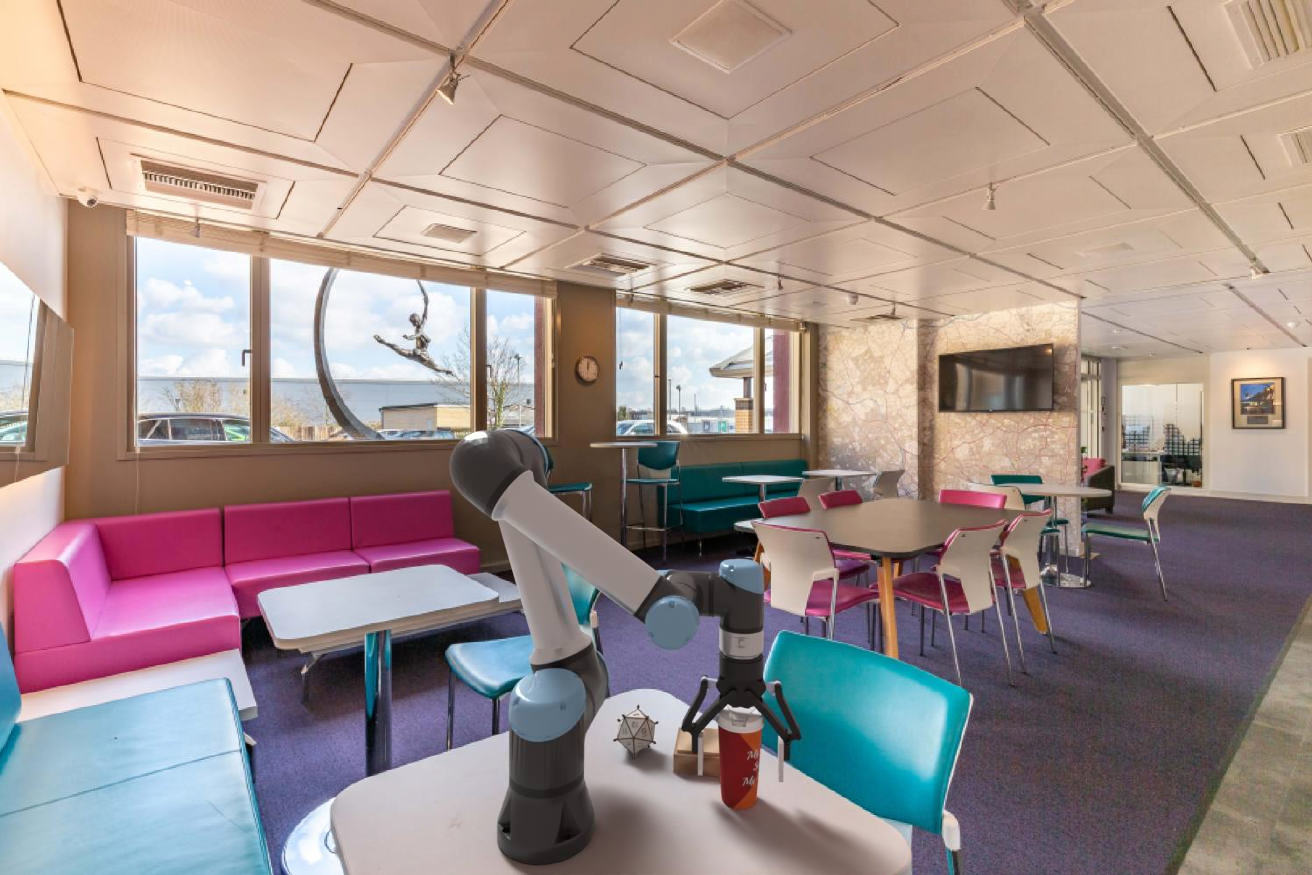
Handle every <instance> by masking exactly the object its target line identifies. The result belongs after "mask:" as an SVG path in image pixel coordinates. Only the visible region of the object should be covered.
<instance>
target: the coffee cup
mask: <svg viewBox="0 0 1312 875" xmlns="http://www.w3.org/2000/svg"><path fill="white" fill-rule="evenodd" d="M715 721H716V724H717V729H718V736H719V761H720V777H719V779H720V794H721V797H720V798H721V801H722V803H724V805H725V806H727V807H728V808H730V809H733V810H738V811H744V810H750V809H752V808H754V806H755V805H756V803H757V797H758V786H759V776H760V774H759V772H760V760H761V751H762V750H761V747H762V734H763V728H764V726H765V720H764V717H763V715H762V714H761V713H759V712H758V710H757V709H756V708H755V707H754V706H753V707H750V709H746V708H743V707H738V708H732V706H730V705H727V706H726V707H725V708H724V709H723V710H721V711H720V712H719V713H718V714H717V715H716V716H715Z"/></svg>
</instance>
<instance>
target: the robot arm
mask: <svg viewBox="0 0 1312 875" xmlns="http://www.w3.org/2000/svg"><path fill="white" fill-rule="evenodd" d="M548 466H549V461H548V455H547V452H546V449H545V448H544V446H543V444H542V443H541V442H540V441H539V440H538V439H537V438H536V437H535V436H534V435H531V434H529V433H528V432H525V431H522V430H519V429H515V428H514V429H511V428H508V429H499V430H497V429H496V430H489V429H488V430H486V429H485V430H478V431H474V432H472V433H469V434H467V435H466V436H464V437H463V438H462V439H461V440H460V441H458V443H457V444H456V445H455V447H454V448H453V451H452V452H451V455H450V459H449V467H448V469H449V474H450V478H451V481H452V483H453V485H454V488H456V489H457V491H458V493H460V495H462V496H463V498H465V499H466V500H467V501H468V502H469V503H470V504H472V505H473V506H474V507H475V508H477V509H478V510H479V511H481V513H483V514H485V515H486V516H487V517H489V518H490V519H492V520H493V521H495V522H498V525H499V530H500V533H501V536H502V540H503V542H504V543H503V544H504V547H505V549H506V553H507V556H508V560H509V563H510V567H511V570H512V573H513V577H514V581H515V585H516V587H517V591H518V593H519V597H520V598H519V599H520V602H521V605H522V609H523V611H524V614H525V619H526V622H527V626H528V628H529V632H530V636H531V640H532V642H533V646H534V647H533V648H534V649H533V650H532V653H531V654H530V656H529V658H528V661H529V665H530V668H531V671H532V673H528V674H527V675H526V676H524V677H522V678H520V679H519V681H518V682H517V683H516V684H515V686H514V687H513V689H512V690H511V694H510V697H509V698H510V699H509V705H508V712H507V715H508V718H507V719H508V774H509V775H508V787H507V790H506V793H505V796H504V799H503V801H502V806H501V808H500V811H499V814H498V817H497V821H496V822H497V823H496V840H497V845H498V847H499V848H500V851H502V853H504V854H505V855H506V857H509V858H510V859H512V860H515V861H517V862H520V863H524V864H529V865H530V864H531V865H546V864H553V863H557V862H561V861H563V860H566V859H569V858H571V857H572V856H575V855H576V854H577V853H580V852H581V851H582V850H583V849H584V848H585V847H587V845H588V844H589V843H590V842H591V840H592V839H593V836H594V833H595V827H596V826H595V825H596V824H595V823H596V820H595V817H596V815H595V807H594V804H593V801H592V798H591V795H590V793H589V789H588V786H587V782H586V781H585V743H586V741H585V740H586V735H587V733H588V731H589V729H590V727H591V725H592V723H593V721H594V720H595V718H596V716H597V714H598V712H599V710H600V709H601V707H602V706H603V704H604V702H605V700H606V698H607V695H608V692H609V688H610V682H611V672H610V669H609V665H608V662H607V660H606V659H605V657H604V655H603V654H602V653H601V652H600V651H598V650H597V649H596V647H595V644H594V641H593V638H592V636H591V635H589V634H587V633H585V632H584V631H582V630H581V627H580V623H579V620H578V616H577V613H576V610H575V607H574V603H573V600H572V597H571V596H572V595H571V593H570V590H569V586H568V582H567V579H566V576H565V572H564V568H563V565H564V566H565V567H567V568H568V569H570V570H571V571H572V572H574V573H575V574H576V575H578V577H580V578H582V579H583V580H584V581H586V582H587V583H589V585H591V586H592V587H594V588H595V589H597V591H599V592H600V593H602V594H603V595H605V596H606V597H607V598H609V599H610V600H611V601H612V602H614V603H615V604H617V605H618V606H619V607H621V608H622V609H623V610H625V611H626V612H628V613H629V614H630V615H631V616H633V617H634V618H635V619H637V620H638V621H639V622H640V623H642V624H643V625H644V626H645V630H646V634H647V636H648V638H649V639H650V640H651V642H652V643H653V644H654V645H655V646H657V647H658V648H660V649H663V650H666V651H676V650H680V649H682V648H684V647H686V646H687V645H689V643H691V642H692V640H693V638H694V636H695V635H696V633H697V631H698V629H699V626H700V621H701V620H700V617H705V618H706V617H708V618H714V617H715V618H719V627H718V628H719V633H718V634H719V636H718V638H719V639H718V641H719V645H718V646H719V647H718V648H719V649H720V652H719V654H718V677H717V678H711V677H709V676H708V675H707V674H703V675H701V678H700V686H699V688H698V691H697V692H696V694H695V696H694V698H693V699H692V702H691V703H690V706H689V708H688V709H687V711H686V713H685V715H684V716H683V719H682V722H681V726H680V727H681V730H682V731H683V732H689V733H690V734H691V736H692V753H694V754H698V775H697V776H703V775H702V774H703V731H704V730H703V729H704V728H707V726H708V725H709V724H711V722H712V721H713V720H714V719H715V718H716V717H717V715H718V713H719V712H720V711H721V710H723V709H724V708H725V707H726V706H727V705H730V706H732V708H738V707H743V708H746V709H750V707H755V708H756V709H757V710H758V712H759V713H761V714H762V717H763V719H765V720H766V722H768V724H769V725H770V727H771V728H772V729H773V730H774V731H775V733H776V734H777V735H778V736H777V777H778V782H779V783H784V761H787V762H789V761H790V759H791V744H792V742H793V741H800V740H802V738H803V737H802V731H801V728H800V725H799V723H798V722H797V720H796V717H795V716H794V714H793V712H792V709H791V707H790V706H789V703H788V702H787V698H786V697H785V695H784V693H783V686H782V682H781V681H782V680H781V679H779V678H776V679H774V680H773V681H765V680H764V655H763V652H764V647H765V646H764V640H765V639H764V634H765V633H764V630H765V629H764V619H765V618H764V616H765V615H764V614H765V580H764V579H765V578H764V577H765V576H764V575H765V574H764V567H763V566H762V564H761V563H759V562H757V561H756V560H755V561H754V560H751V559H748V558H747V559H745V558H734V559H733V558H731V559H725V560H723V561H721V562H720V565H719V568H718V571H699V570H698V571H697V570H695V571H694V570H677V569H673V568H671V569H662V570H661V569H659V570H657V569H654V568H653V567H652V566H650V565H649V564H648V563H646V562H645V561H644V560H642V559H641V558H640V557H638V556H637V555H635V554H634V553H632V551H630V550H628V549H627V548H626V547H625V546H623V545H622V544H620V543H619V542H618V541H616V540H615V539H614V538H613V537H611V536H610V535H608V534H607V533H606V532H604V531H603V530H602V529H600V528H598V527H597V525H594V524H593V523H592V522H591V521H589V520H588V519H587V518H585V517H584V516H582V515H581V514H579V513H578V512H577V511H576V510H574V509H573V508H572V507H570V506H568V505H567V504H566V503H565V502H563V501H562V500H560V499H559V498H558V497H557V496H555V495H554V494H553V493H551V492H550V490H549V486H548V482H547V480H546V475H547V471H548ZM562 564H563V565H562ZM713 688H716V689H717V691H718V693H719V694H717V696H716V699H715V700H714V701H713V702H712V703H711V704H710V705H709V706H708V707H707V708H706V710H704V712H702V714H701V715H700V716H699V717H698V718H697V719H696V720H695V721H694V719H695V718H696V715H697V714H698V712H699V710H700V708H701V706H702V704H703V703H704V700H705V699H706V696H707V692H708V693H710V692H712V690H713ZM766 691H768V692H769V694H770V695H771V697H775V699H776V702H777V705H778V706H779V709H780V711H781V714H782V715H783V717H784V718H785V721H786V723H787V725H788V727H789V728H787V727H786V726H785V724H784V723H783V722H782V720H780V718H779V717H778V716H777V715H776V713H775V712H774V710H773V709H772V708H771V707H770V706H769V705H768V703H767V702H766V700H765V699H764V697H763V695H764V694H765V693H766Z"/></svg>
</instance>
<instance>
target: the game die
mask: <svg viewBox="0 0 1312 875" xmlns="http://www.w3.org/2000/svg"><path fill="white" fill-rule="evenodd" d="M621 717H622V719H620V718H617V719H616V721H617V722H618V723H619V724H618V730H617V735H616V738H613V740H612V742H617V741H618V743H620V744H621V745H622V746H623V747H624V748H625V749H627V750H628V751H629V752H630V753H631V754H632V758H633V760H635V759H636V755H637V754H638V753H639V752H641V751H642V750H644V749H645V748H647V749H651V745H652V744H653V745H657V742H656V740H654V737H655V730H656V729H655V728H656V725H658V724H659V723H660V721H658V720H657V721H654V720H653V719H652V718H650V715H647V714H645V713H644V712H643V711H642V710H641V709H640V705H639V704H637V706H636V709H635V710H633V711H631V712H630V713H629V714H627V715H626V714H625V713H624V714H621Z"/></svg>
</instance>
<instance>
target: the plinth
mask: <svg viewBox="0 0 1312 875" xmlns="http://www.w3.org/2000/svg"><path fill="white" fill-rule="evenodd" d="M703 730H704V731H703V774H702V776H708V777H709V776H710V777H719V778H720V761H719V736H718V728H709V727H705V728H704V729H703ZM674 744H675V745H674V748H673V749H674V750H673V756H672V757H673V759H672V760H673V764H672V765H673V766H672V768H673V769H672V773H678V774H686V775H687V774H688V775H689V774H690V775H697V776H699V775H698V754H694V753H692V736H691V734H690V733H689V732H683V731H682V730H681V726H678V729H677V734H676V740H675V743H674Z"/></svg>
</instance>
